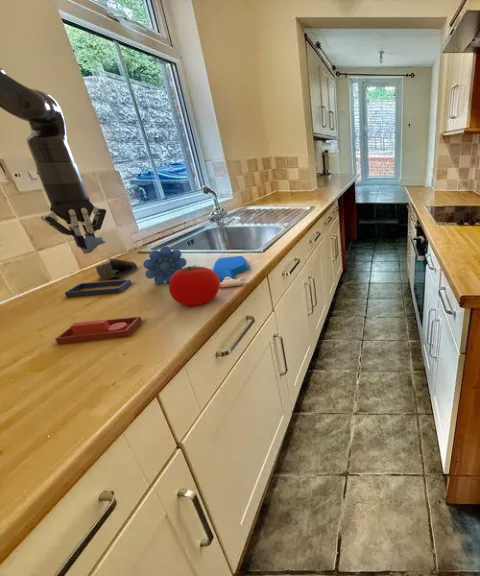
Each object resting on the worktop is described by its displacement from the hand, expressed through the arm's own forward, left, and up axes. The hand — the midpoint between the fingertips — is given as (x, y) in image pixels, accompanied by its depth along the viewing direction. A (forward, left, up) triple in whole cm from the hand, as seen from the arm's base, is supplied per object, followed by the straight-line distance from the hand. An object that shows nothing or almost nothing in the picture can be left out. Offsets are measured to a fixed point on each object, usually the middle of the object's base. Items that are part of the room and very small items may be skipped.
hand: (88, 247), depth 86 cm
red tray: (+10, -23, -15) cm, 29 cm away
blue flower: (+14, +8, -15) cm, 22 cm away
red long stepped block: (+10, -23, -14) cm, 29 cm away
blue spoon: (+2, -2, 0) cm, 3 cm away
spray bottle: (+32, +10, -15) cm, 36 cm away
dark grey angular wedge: (-6, +19, -15) cm, 25 cm away
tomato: (+27, -10, -15) cm, 33 cm away
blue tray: (-4, +5, -15) cm, 16 cm away
